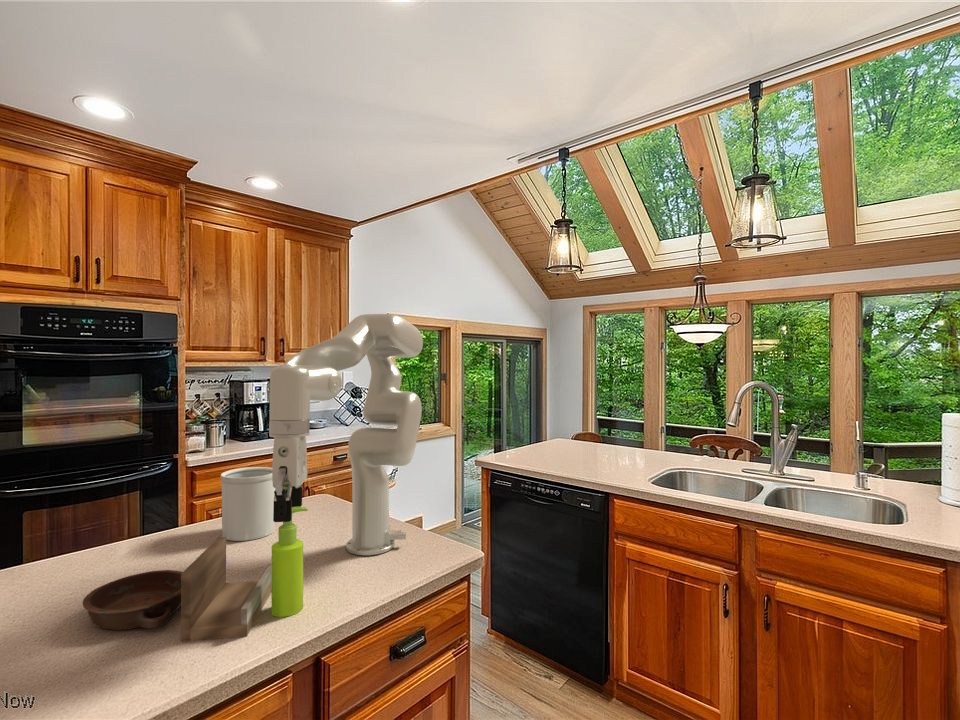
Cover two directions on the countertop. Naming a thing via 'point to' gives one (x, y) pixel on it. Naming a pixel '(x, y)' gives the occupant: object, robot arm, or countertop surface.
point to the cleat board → (219, 598)
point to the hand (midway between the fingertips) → (288, 513)
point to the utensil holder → (247, 503)
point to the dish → (135, 600)
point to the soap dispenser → (287, 570)
